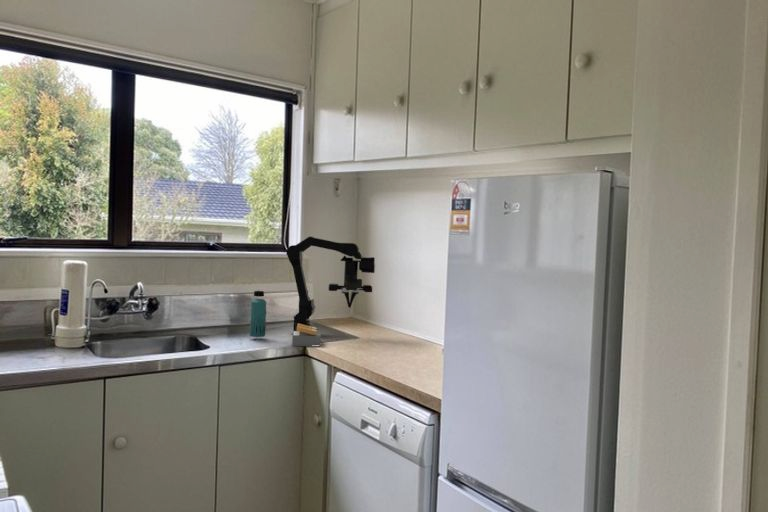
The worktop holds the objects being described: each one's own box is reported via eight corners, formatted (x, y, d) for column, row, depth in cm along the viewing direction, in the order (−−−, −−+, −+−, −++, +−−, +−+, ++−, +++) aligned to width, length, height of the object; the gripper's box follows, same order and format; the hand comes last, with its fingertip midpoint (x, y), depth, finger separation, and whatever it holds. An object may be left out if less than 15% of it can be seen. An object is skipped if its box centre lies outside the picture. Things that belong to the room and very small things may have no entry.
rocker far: (296, 328, 233) (297, 324, 233) (296, 326, 237) (297, 323, 237) (315, 332, 234) (316, 329, 234) (315, 331, 238) (316, 327, 238)
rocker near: (296, 330, 228) (297, 326, 228) (296, 329, 231) (297, 325, 231) (316, 335, 229) (317, 331, 229) (315, 333, 232) (316, 330, 232)
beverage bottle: (254, 341, 232) (256, 291, 231) (246, 338, 237) (248, 290, 236) (268, 339, 237) (270, 291, 236) (260, 337, 242) (262, 289, 241)
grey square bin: (292, 345, 227) (292, 333, 226) (292, 340, 238) (293, 329, 237) (320, 346, 228) (320, 334, 228) (319, 341, 239) (320, 329, 239)
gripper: (330, 272, 241) (328, 309, 241) (374, 274, 243) (372, 310, 244) (329, 270, 252) (327, 306, 252) (371, 272, 254) (369, 307, 255)
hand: (349, 307), depth 251 cm, fingers closed
